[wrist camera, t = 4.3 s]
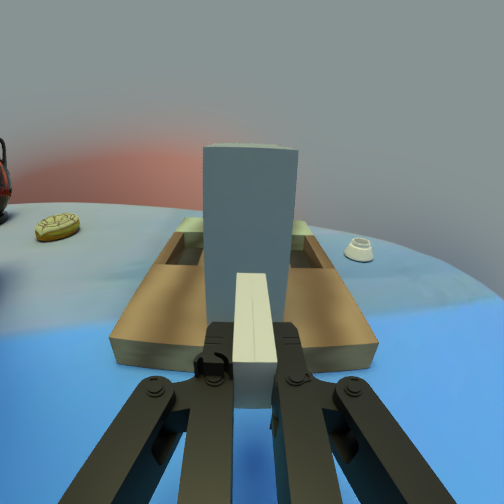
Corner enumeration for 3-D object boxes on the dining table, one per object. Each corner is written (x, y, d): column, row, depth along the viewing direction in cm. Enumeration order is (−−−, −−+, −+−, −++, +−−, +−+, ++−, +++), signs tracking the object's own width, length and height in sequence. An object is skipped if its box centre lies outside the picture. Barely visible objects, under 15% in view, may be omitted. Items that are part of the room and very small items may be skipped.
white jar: (369, 266, 43) (375, 256, 46) (372, 249, 41) (378, 240, 45) (340, 258, 45) (348, 249, 49) (342, 241, 44) (351, 233, 48)
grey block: (207, 330, 22) (203, 146, 17) (218, 266, 34) (219, 143, 28) (281, 331, 23) (298, 150, 17) (270, 267, 34) (277, 144, 28)
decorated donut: (35, 235, 51) (32, 219, 49) (75, 224, 58) (73, 208, 56) (38, 247, 44) (35, 229, 43) (85, 234, 51) (82, 216, 50)
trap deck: (117, 363, 21) (108, 337, 20) (185, 233, 53) (184, 217, 52) (369, 368, 22) (379, 342, 21) (302, 236, 54) (304, 221, 52)
